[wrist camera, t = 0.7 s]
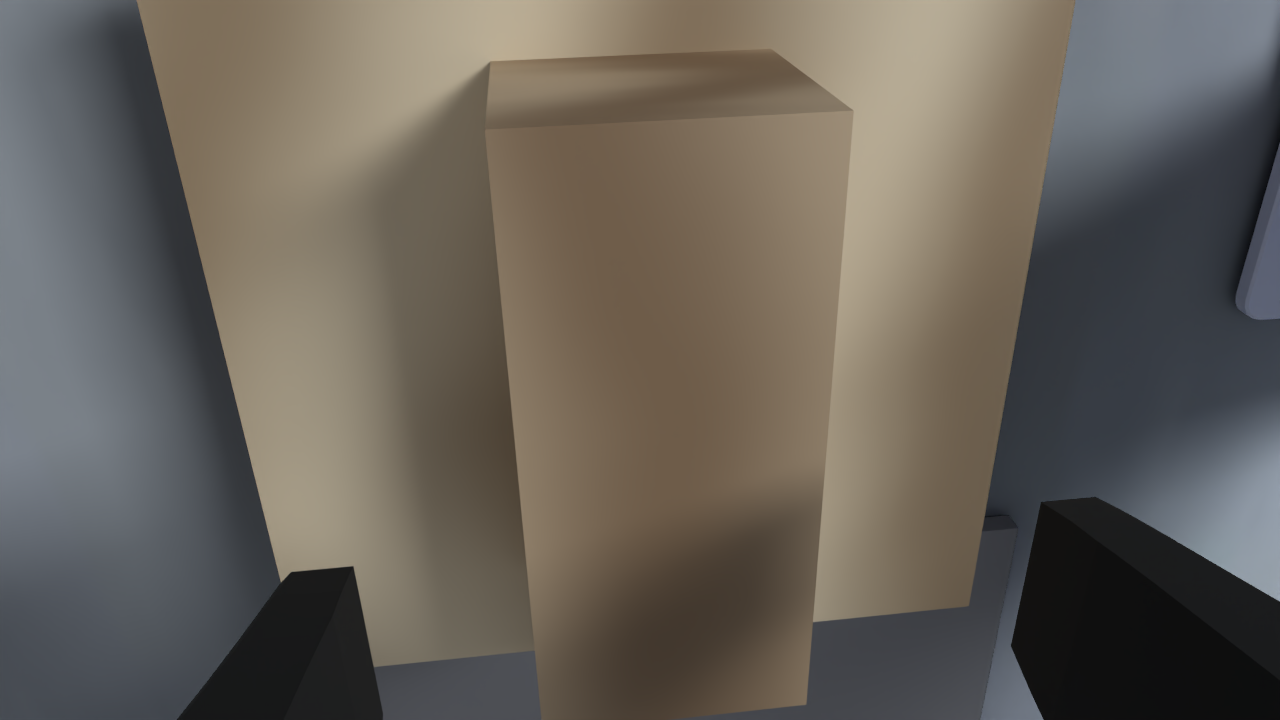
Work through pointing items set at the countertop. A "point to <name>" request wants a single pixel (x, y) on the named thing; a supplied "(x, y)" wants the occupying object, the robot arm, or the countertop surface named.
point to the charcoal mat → (838, 671)
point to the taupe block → (618, 313)
